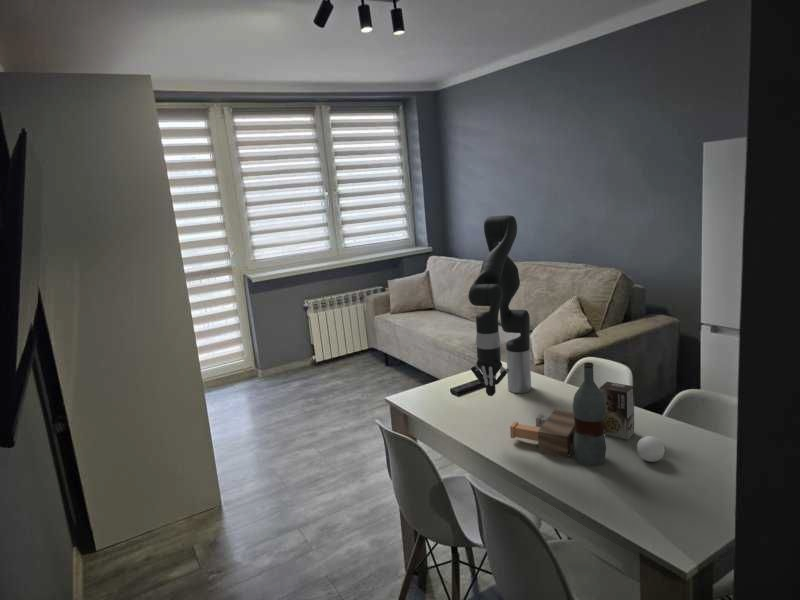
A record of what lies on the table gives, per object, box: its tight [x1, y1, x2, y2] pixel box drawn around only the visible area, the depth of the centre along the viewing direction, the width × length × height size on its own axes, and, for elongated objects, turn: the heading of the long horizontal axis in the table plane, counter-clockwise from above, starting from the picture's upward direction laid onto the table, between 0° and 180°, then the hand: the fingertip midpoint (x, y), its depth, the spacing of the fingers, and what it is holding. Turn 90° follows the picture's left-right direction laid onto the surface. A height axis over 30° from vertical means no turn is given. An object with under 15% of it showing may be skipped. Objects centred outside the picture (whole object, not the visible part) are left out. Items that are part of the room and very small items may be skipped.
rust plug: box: [509, 421, 540, 442], centre depth 171 cm, size 4×13×4 cm, turn 58°
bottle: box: [572, 361, 607, 467], centre depth 157 cm, size 9×9×30 cm
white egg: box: [634, 435, 665, 463], centre depth 157 cm, size 10×7×7 cm
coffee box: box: [598, 381, 635, 440], centre depth 172 cm, size 9×6×16 cm
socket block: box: [537, 408, 575, 458], centre depth 170 cm, size 18×9×7 cm, turn 148°
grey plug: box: [535, 412, 550, 428], centre depth 175 cm, size 4×13×4 cm, turn 58°
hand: (490, 395), depth 176 cm, fingers closed
